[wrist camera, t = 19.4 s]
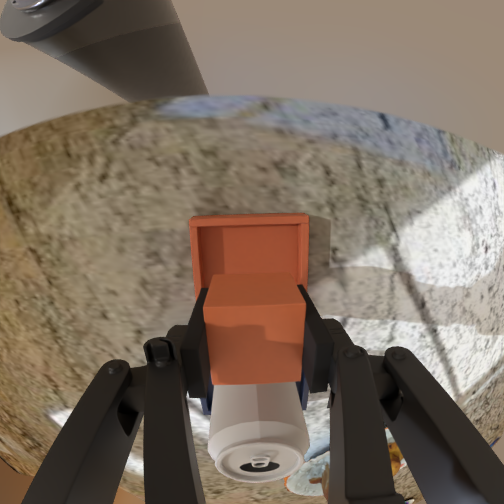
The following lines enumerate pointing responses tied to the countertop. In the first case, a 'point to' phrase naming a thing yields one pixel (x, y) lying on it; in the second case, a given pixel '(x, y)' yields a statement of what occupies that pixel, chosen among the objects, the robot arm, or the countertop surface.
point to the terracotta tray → (249, 246)
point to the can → (257, 431)
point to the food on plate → (317, 472)
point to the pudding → (409, 501)
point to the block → (254, 328)
